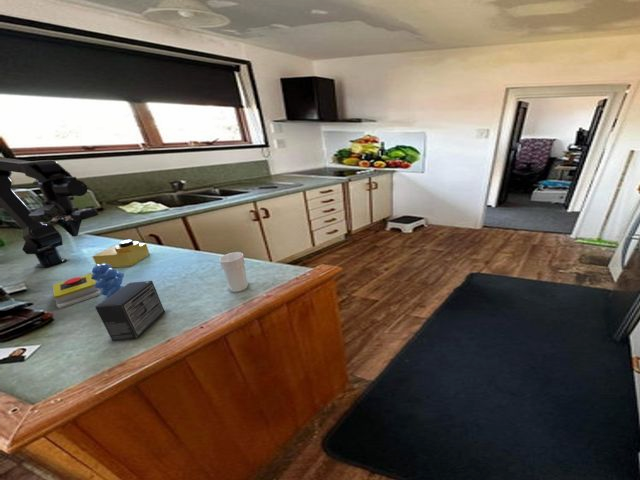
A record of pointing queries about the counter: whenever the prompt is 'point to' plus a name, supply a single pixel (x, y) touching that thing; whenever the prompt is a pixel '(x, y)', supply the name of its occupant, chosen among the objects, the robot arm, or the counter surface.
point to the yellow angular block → (122, 255)
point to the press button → (126, 243)
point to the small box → (130, 310)
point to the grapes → (107, 279)
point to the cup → (234, 271)
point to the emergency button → (75, 290)
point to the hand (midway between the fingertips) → (75, 236)
